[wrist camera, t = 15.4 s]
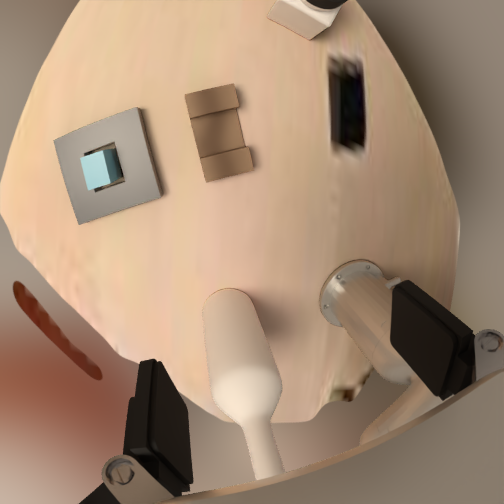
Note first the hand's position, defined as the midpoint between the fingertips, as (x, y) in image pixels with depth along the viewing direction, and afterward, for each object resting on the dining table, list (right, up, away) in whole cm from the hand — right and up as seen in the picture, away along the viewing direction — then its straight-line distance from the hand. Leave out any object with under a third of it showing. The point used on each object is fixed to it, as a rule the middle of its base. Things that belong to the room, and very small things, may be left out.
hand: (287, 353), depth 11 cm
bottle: (-5, -5, +37) cm, 37 cm away
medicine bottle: (+5, +38, +22) cm, 44 cm away
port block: (-20, +15, +25) cm, 36 cm away
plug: (-20, +15, +25) cm, 36 cm away
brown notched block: (-6, +19, +27) cm, 33 cm away
